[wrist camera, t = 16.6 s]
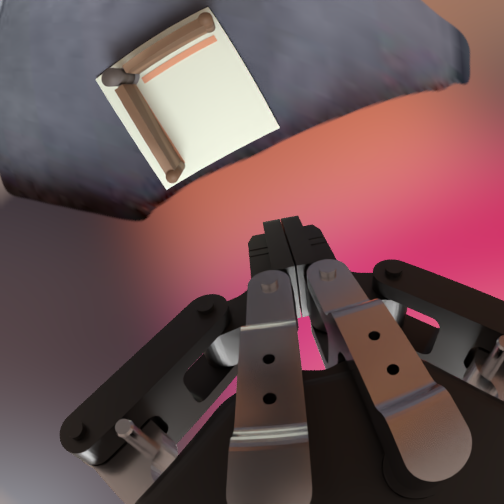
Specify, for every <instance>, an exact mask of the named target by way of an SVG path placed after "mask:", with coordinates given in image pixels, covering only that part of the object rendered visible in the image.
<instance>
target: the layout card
mask: <svg viewBox="0 0 504 504" xmlns="http://www.w3.org/2000/svg"><path fill="white" fill-rule="evenodd" d="M203 12H208V13H210V14H211V15H212V18H213V21H214V24H215V30H214V31H213V32H211V33H207V34H205V35H203V36H201V37H199V38H197V39H195V40H193V41H192V42H190V43H188V44H186V45H185V46H183V47H181V48H179V49H178V50H176V51H174V52H173V53H171V54H169V55H168V56H166V57H164V58H163V59H161V60H160V61H158V62H157V63H155V64H154V65H152V66H150V67H149V68H147V69H146V70H145V71H143V72H142V73H140V74H135V80H134V82H133V83H132V84H136V86H137V88H138V89H139V91H140V93H141V94H142V96H143V98H144V100H145V101H146V103H147V105H148V106H149V108H150V110H151V111H152V113H153V115H154V116H155V118H156V120H157V121H158V123H159V125H160V126H161V128H162V130H163V132H164V133H165V135H166V137H167V138H168V140H169V142H170V143H171V145H172V147H173V148H174V150H175V152H176V153H177V155H178V157H179V158H180V160H181V161H182V162H184V164H185V169H184V170H183V172H182V174H181V175H180V177H179V179H178V180H177V182H175V183H169V182H168V181H167V180H166V175H165V173H164V171H163V170H162V168H161V167H160V165H159V163H158V162H157V160H156V158H155V157H154V155H153V154H152V152H151V150H150V149H149V147H148V145H147V144H146V142H145V141H144V139H143V137H142V136H141V134H140V132H139V131H138V129H137V127H136V126H135V124H134V122H133V121H132V119H131V117H130V116H129V114H128V112H127V111H126V109H125V107H124V106H123V104H122V102H121V100H120V99H119V97H118V95H117V94H116V92H115V89H117V88H118V87H119V86H115V87H107V86H105V85H104V84H103V83H102V80H101V77H102V75H100V76H99V77H98V78H97V79H96V81H97V83H98V84H99V86H100V88H101V89H102V91H103V93H104V94H105V96H106V97H107V99H108V101H109V102H110V104H111V105H112V107H113V109H114V110H115V112H116V113H117V115H118V116H119V118H120V120H121V121H122V123H123V124H124V126H125V127H126V129H127V131H128V132H129V134H130V135H131V137H132V138H133V140H134V141H135V143H136V144H137V146H138V148H139V149H140V151H141V152H142V154H143V155H144V157H145V158H146V160H147V161H148V163H149V164H150V166H151V167H152V169H153V170H154V172H155V173H156V175H157V176H158V178H159V179H160V181H161V182H162V184H163V185H164V187H165V188H166V190H167V189H169V188H170V187H172V186H174V185H175V184H177V183H179V182H180V181H182V180H184V179H185V178H187V177H189V176H190V175H192V174H194V173H195V172H197V171H199V170H201V169H202V168H204V167H206V166H208V165H209V164H211V163H213V162H215V161H217V160H218V159H220V158H222V157H224V156H226V155H228V154H230V153H231V152H233V151H235V150H237V149H239V148H241V147H243V146H245V145H247V144H249V143H250V142H252V141H254V140H256V139H258V138H260V137H262V136H264V135H266V134H268V133H270V132H272V131H275V130H277V129H279V128H280V127H279V125H278V124H277V122H276V120H275V118H274V116H273V114H272V112H271V110H270V109H269V107H268V105H267V103H266V101H265V99H264V98H263V96H262V94H261V92H260V90H259V89H258V87H257V85H256V83H255V82H254V80H253V78H252V76H251V75H250V73H249V71H248V69H247V68H246V66H245V64H244V63H243V61H242V59H241V58H240V56H239V54H238V53H237V51H236V49H235V48H234V46H233V44H232V43H231V41H230V40H229V38H228V36H227V35H226V33H225V32H224V30H223V29H222V27H221V25H220V24H219V22H218V21H217V19H216V18H215V16H214V15H213V13H212V12H211V10H210V9H209V7H207V8H205V9H203V10H201V11H199V12H197V13H195V14H193V15H191V16H189V17H187V18H185V19H183V20H182V21H180V22H178V23H176V24H175V25H173V26H171V27H169V28H168V29H166V30H164V31H163V32H161V33H159V34H158V35H156V36H155V37H153V38H151V39H150V40H148V41H147V42H145V43H144V44H142V45H141V46H139V47H138V48H136V49H135V50H134V51H132V52H131V53H129V54H128V55H126V56H125V57H124V58H122V59H121V60H120V61H118V62H117V63H116V64H114V65H113V66H112V67H110V68H120V69H123V67H122V65H123V64H125V63H126V62H128V61H129V60H130V59H132V58H133V57H135V56H136V55H137V54H139V53H140V52H142V51H143V50H145V49H146V48H148V47H149V46H151V45H152V44H154V43H156V42H157V41H159V40H160V39H162V38H164V37H165V36H167V35H169V34H170V33H172V32H174V31H175V30H177V29H179V28H181V27H183V26H184V25H186V24H188V23H190V22H192V21H194V20H195V19H197V18H198V16H199V15H200V14H201V13H203Z"/></svg>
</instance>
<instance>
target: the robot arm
mask: <svg viewBox="0 0 504 504" xmlns="http://www.w3.org/2000/svg"><path fill="white" fill-rule="evenodd" d="M263 226H264V231H265V234H260V235H255V236H252V238H251V239H250V241H249V243H248V247H249V257H250V269H251V280H250V281H249V283H248V290H247V291H246V292H245V293H243V294H242V295H240V296H238V297H237V298H234V299H232V300H230V301H226V299H225V298H224V297H222V296H220V295H216V294H209V295H204V296H201V297H199V298H197V299H195V300H193V301H192V302H191V303H190V304H189V305H188V306H187V307H186V308H184V310H182V311H181V312H180V313H179V314H178V315H177V316H176V317H175V318H174V319H173V320H172V321H171V322H169V323H168V324H167V325H166V326H165V327H164V328H163V329H162V330H161V331H160V332H159V333H157V334H156V335H155V336H154V337H153V338H152V339H151V340H150V341H149V342H148V343H147V344H146V345H145V346H143V347H142V348H141V349H140V350H139V351H138V352H137V353H136V354H135V355H134V356H133V357H132V358H131V359H129V360H128V361H127V362H126V363H125V364H124V365H123V366H122V367H121V368H120V369H119V370H118V371H116V372H115V373H114V374H113V375H112V376H111V377H110V378H109V379H108V380H107V381H106V382H105V383H104V384H102V385H101V386H100V387H99V388H98V389H97V390H96V391H95V392H94V393H93V394H92V395H91V396H90V397H89V398H87V399H86V400H85V401H84V402H83V403H82V404H81V405H80V406H79V407H78V408H77V409H76V410H75V411H74V412H72V413H71V414H70V415H69V416H68V417H67V418H66V419H65V421H64V422H63V424H62V426H61V430H60V441H61V444H62V445H63V447H64V448H65V449H66V450H67V451H69V452H70V453H72V454H73V455H75V456H76V457H78V458H79V459H81V460H82V461H83V462H84V463H86V464H87V465H89V466H91V467H92V468H94V469H95V470H96V471H97V473H98V474H99V475H100V476H101V477H102V479H103V480H104V481H105V482H106V483H107V484H108V485H109V487H110V488H111V489H112V490H113V491H114V492H115V493H116V494H117V496H118V497H119V498H120V499H121V500H122V501H123V502H124V503H125V504H504V301H503V300H500V299H498V298H495V297H493V296H491V295H488V294H486V293H483V292H481V291H478V290H476V289H473V288H471V287H468V286H466V285H463V284H461V283H458V282H455V281H453V280H450V279H448V278H445V277H443V276H440V275H437V274H435V273H432V272H430V271H427V270H424V269H422V268H419V267H416V266H413V265H411V264H408V263H405V262H402V261H399V260H384V261H381V262H379V263H378V264H376V265H375V267H374V269H373V273H356V272H351V271H350V270H349V269H348V267H347V266H346V265H345V264H344V263H342V262H340V261H338V260H336V258H335V256H334V254H333V252H332V250H331V248H330V247H329V245H328V243H327V241H326V239H325V237H324V236H323V234H322V232H321V230H320V229H319V228H317V227H315V226H314V225H307V226H302V223H301V221H300V219H299V217H298V216H294V217H288V218H282V219H281V222H280V219H278V220H272V221H267V222H263ZM299 305H300V306H299ZM407 307H408V308H411V309H413V310H415V311H418V312H420V313H422V314H424V315H427V316H429V317H431V318H433V319H435V320H436V321H437V322H438V324H439V326H440V328H436V327H433V326H431V325H429V324H427V323H425V322H422V321H420V320H418V319H416V318H413V317H411V316H409V315H407V314H406V312H407ZM300 309H301V313H302V317H304V316H309V317H310V320H311V330H312V334H313V337H314V339H315V342H316V344H317V347H318V350H319V352H320V355H321V357H322V360H323V363H324V366H325V368H326V370H316V371H315V370H314V371H312V370H310V371H309V370H302V368H301V360H300V351H299V343H298V334H297V331H298V319H297V318H300V317H301V315H300ZM202 353H203V355H202ZM201 355H202V356H201ZM200 356H201V357H200ZM199 357H200V358H199ZM198 358H199V359H198ZM197 359H198V360H197ZM196 360H197V361H196ZM195 361H196V362H195ZM194 362H195V363H194ZM193 363H194V364H193ZM192 364H193V365H192ZM191 365H192V366H191ZM190 366H191V367H190ZM189 367H190V368H189ZM188 368H189V369H188ZM236 376H237V391H236V393H235V394H234V395H232V396H231V397H229V398H228V399H227V400H226V401H224V402H223V404H221V405H220V406H219V408H218V409H217V410H216V411H215V412H214V413H213V414H212V416H211V417H210V418H209V419H208V421H207V422H206V423H205V424H204V426H203V427H202V428H201V429H200V431H199V432H198V433H197V434H196V435H195V436H194V438H193V439H192V440H191V441H190V442H189V444H188V445H187V446H186V447H185V448H184V449H183V450H182V452H181V453H180V454H179V455H178V456H177V454H178V451H177V446H176V444H177V443H178V442H179V441H180V439H181V438H182V437H183V436H184V435H185V434H186V433H187V432H188V431H189V430H190V429H191V427H192V426H193V425H194V424H195V423H196V422H197V421H198V420H199V418H200V417H201V416H202V415H203V414H204V413H205V412H206V411H207V409H208V408H209V407H210V406H211V405H212V404H213V403H214V402H215V400H216V399H217V398H218V397H219V396H220V395H221V393H222V392H223V391H224V390H225V389H226V388H227V386H228V385H229V384H230V383H231V382H232V380H233V379H234V378H235V377H236Z"/></svg>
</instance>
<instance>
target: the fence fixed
mask: <svg viewBox="0 0 504 504" xmlns="http://www.w3.org/2000/svg"><path fill="white" fill-rule="evenodd" d="M214 30H215V24H214V21H213V18H212V15H211V14H210V13H208V12H203V13H201V14H200V15H199V16H198V18H197V19H195V20H194V21H192V22H190V23H188V24H186V25H184V26H183V27H181V28H179V29H177V30H175V31H174V32H172V33H170V34H169V35H167V36H165V37H164V38H162V39H160V40H159V41H157V42H156V43H154V44H152V45H151V46H149V47H148V48H146V49H145V50H143V51H142V52H140V53H139V54H137V55H136V56H135V57H133V58H132V59H130V60H129V61H128V62H126V63H125V64H123V65H122V67H123V69H120V68H108V69H106V70H105V71H104V72H103V74H102V77H101V80H102V83H103V84H104V85H105V86H107V87H115V86H121V85H122V84H132V83H133V82H134V80H135V74H140V73H142V72H143V71H145V70H146V69H147V68H149V67H150V66H152V65H154V64H155V63H157V62H158V61H160V60H161V59H163V58H164V57H166V56H168V55H169V54H171V53H173V52H174V51H176V50H178V49H179V48H181V47H183V46H185V45H186V44H188V43H190V42H192V41H193V40H195V39H197V38H199V37H201V36H203V35H205V34H207V33H211V32H213V31H214Z"/></svg>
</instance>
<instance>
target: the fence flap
mask: <svg viewBox="0 0 504 504" xmlns="http://www.w3.org/2000/svg"><path fill="white" fill-rule="evenodd" d="M115 92H116V94H117V95H118V97H119V99H120V100H121V102H122V104H123V106H124V107H125V109H126V111H127V112H128V114H129V116H130V117H131V119H132V121H133V122H134V124H135V126H136V127H137V129H138V131H139V132H140V134H141V136H142V137H143V139H144V141H145V142H146V144H147V145H148V147H149V149H150V150H151V152H152V154H153V155H154V157H155V158H156V160H157V162H158V163H159V165H160V167H161V168H162V170H163V171H164V173H165V175H166V180H167V181H168V182H169V183H175V182H177V180H178V179H179V177H180V175H181V174H182V172H183V170H184V169H185V164H184V162H182V161H181V160H180V158H179V157H178V155H177V153H176V152H175V150H174V148H173V147H172V145H171V143H170V142H169V140H168V138H167V137H166V135H165V133H164V132H163V130H162V128H161V126H160V125H159V123H158V121H157V120H156V118H155V116H154V115H153V113H152V111H151V110H150V108H149V106H148V105H147V103H146V101H145V100H144V98H143V96H142V94H141V93H140V91H139V89H138V88H137V86H136V84H122V85H121V86H119V87H118V88H117V89H115Z"/></svg>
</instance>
